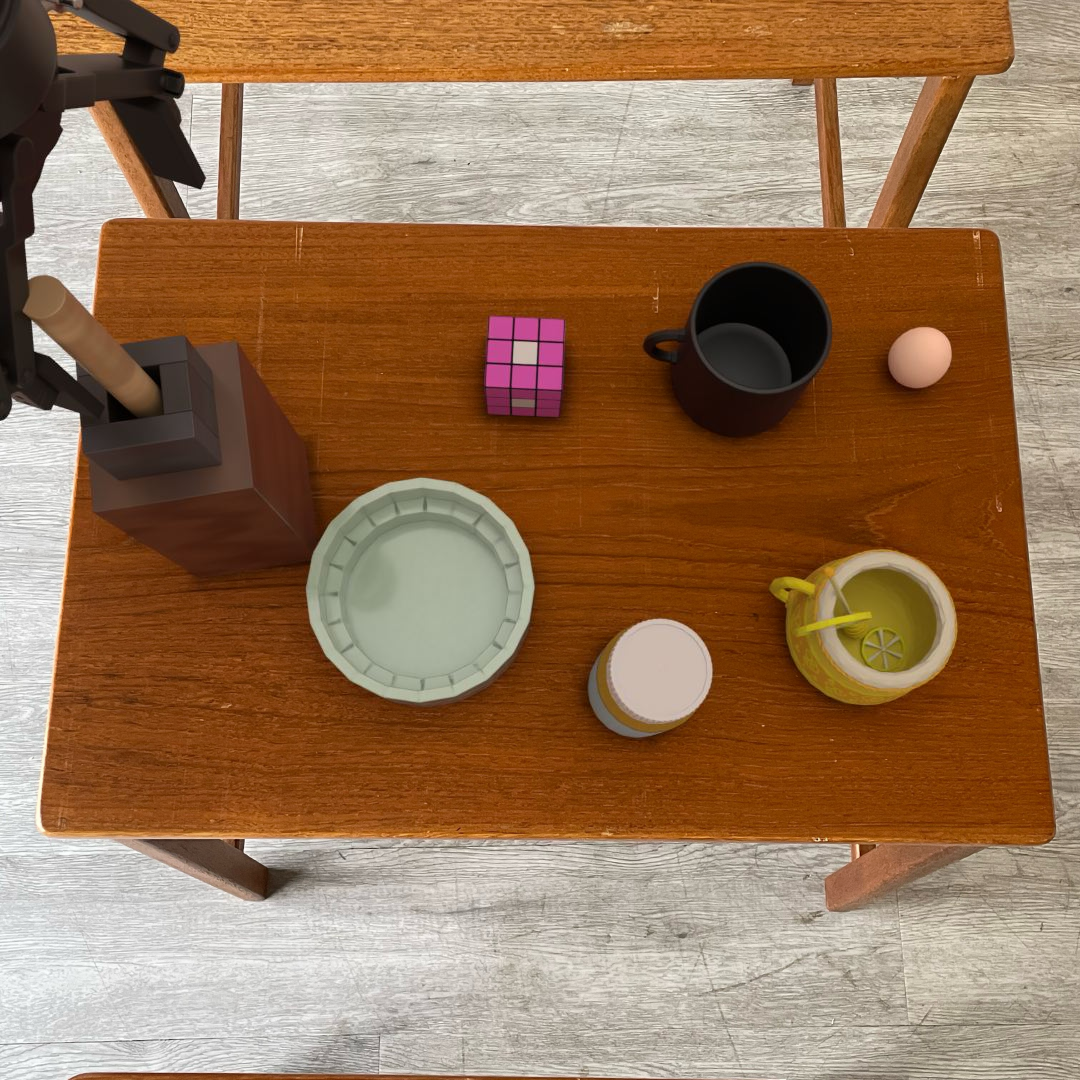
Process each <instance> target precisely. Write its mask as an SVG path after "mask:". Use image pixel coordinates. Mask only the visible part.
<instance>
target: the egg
mask: <svg viewBox="0 0 1080 1080" xmlns="http://www.w3.org/2000/svg"><path fill="white" fill-rule="evenodd" d="M952 355H953V354H952V347H951V342H950V340H949V339H948V337H947V336H946V335H945V334H944V333H943V332H941V331H940V330H938V329H936V328H935V327H928V326H926V327H925V326H920V327H919V326H918V327H915V328H911V329H909V330H907V331H905V332H903V333H902V334H901V335H900V336H899V337H898V338H897V339H896V340H894V342H893V344H892V345H891V347H890V349H889V351H888V356H887V364H888V369H889V372H890V374H891V376H892V378H893V379H894V380H896V382H897V383H899V384H900V385H901V386H904V387H907V388H912V389H920V388H921V389H922V388H927V387H929V386H931V385H934V384H935V383H937V382H938V381H939V380H941V379H942V378H943V376H944V375H946V373H947V371H948V369H949V367H950V366H951V362H952V357H953V356H952Z"/></svg>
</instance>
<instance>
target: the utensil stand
mask: <svg viewBox="0 0 1080 1080" xmlns="http://www.w3.org/2000/svg"><path fill="white" fill-rule="evenodd" d="M118 344H119V345H120V346H121V347H122V348H123V349H124V350H125V351H126V352H127V353H128V354H129V355H130V356H131V358H132V359H133V360H134V361H135V362H136V363H137V364H138V365H139V366H140V367H141V368H142V369H143V370H144V371H145V373H146V374H147V375H148V376H149V377H150V378H151V379H152V380H153V381H154V382H155V383H156V384H157V385H158V386H159V388H160V389H161V390H162V400H163V410H164V415H160V416H153V417H147V418H140V419H137V418H136V417H135V416H134V415H133V414H132V413H131V412H130V411H129V410H128V409H127V408H126V407H125V406H123V405H122V404H121V403H120V402H119V401H118V400H117V399H116V398H115V397H114V396H113V395H112V394H111V393H109V392H108V391H107V390H106V389H105V388H104V387H103V386H102V385H101V384H100V383H99V382H98V381H97V380H95V379H94V378H93V377H92V376H91V375H90V374H89V373H88V372H87V371H86V370H85V369H84V368H83V367H81V366H80V365H79V364H78V363H77V362H76V361H75V360H74V361H75V372H76V380H77V381H78V382H79V383H80V384H81V385H82V386H83V387H84V388H85V389H87V390H88V391H89V392H90V393H91V394H92V395H93V396H94V397H95V398H97V399H98V400H99V401H100V402H101V403H102V404H103V405H104V406H105V408H104V410H103V413H102V415H101V417H100V419H95V418H92V417H89V416H86V415H83V414H80V413H79V424H80V425H79V426H80V434H81V435H80V436H81V448H82V449H81V450H82V455H84V456H85V457H86V458H87V460H88V471H89V481H90V482H89V483H90V484H89V485H90V496H91V497H90V498H91V507H92V508H91V509H92V513H93V514H94V515H95V516H98V517H99V518H101V519H102V520H104V521H106V522H108V523H109V524H111V525H112V526H114V527H116V528H117V529H119V530H120V531H122V532H123V533H126V534H127V535H129V536H130V537H131V538H133V539H135V540H137V541H138V542H140V543H142V544H144V545H145V546H147V547H148V548H150V549H152V550H153V551H155V552H157V554H160V555H161V556H163V557H165V558H166V559H168V560H170V562H172V563H174V564H176V565H178V566H179V567H181V568H182V569H184V570H186V571H188V572H189V573H191V574H192V575H194V576H196V577H198V578H199V579H204V578H205V579H206V578H213V577H218V576H225V575H231V574H236V573H242V572H248V571H249V572H250V571H256V570H260V569H261V570H262V569H268V568H274V567H281V566H287V565H292V564H299V563H304V562H311V559H312V555H313V552H314V550H315V548H316V547H317V545H318V543H319V539H318V531H317V523H316V515H315V507H314V499H313V491H312V483H311V477H310V476H311V475H310V468H309V459H308V452H307V447H306V445H305V443H304V441H303V440H302V438H301V437H300V435H299V433H298V432H297V431H296V429H295V428H294V426H293V424H292V423H291V422H290V420H289V419H288V417H287V415H286V413H285V412H284V411H283V409H282V408H281V406H280V404H279V403H278V401H277V400H276V399H275V397H274V395H273V394H272V392H271V391H270V389H269V388H268V386H267V384H265V382H264V380H263V378H262V377H261V376H260V374H259V373H258V371H257V370H256V368H255V366H254V365H253V363H252V362H251V360H250V359H249V357H248V356H247V354H246V353H245V352H244V350H243V348H242V346H241V345H240V344H239V342H238V341H237V340H232V341H226V342H225V341H224V342H219V343H211V344H205V345H197V346H193V344H192V343H191V341H190V340H189V339H188V337H187V336H186V334H179V335H172V336H165V337H159V338H152V339H146V340H138V341H133V342H132V341H131V342H125V343H118Z"/></svg>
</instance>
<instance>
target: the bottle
mask: <svg viewBox="0 0 1080 1080" xmlns="http://www.w3.org/2000/svg"><path fill="white" fill-rule="evenodd" d="M713 670H714V669H713V662H712V657H711V655H710V652H709V650H708V647H707V646H706V644H705V642H704V641H703V640H702V638H701V636H699V635H698V634H697V632H695V631H694V629H692V628H690V627H689V626H687V625H685V624H684V623H682V622H679V621H677V620H673V619H667V618H652V619H647V620H643V621H641V622H637V623H636V624H632V625H630V626H628V627H626V628H624V629H622V630H621V631H619V632H617V633H616V634H615V635H614V636H613V637H612V638H611V639H610V640H609V641H608V642H607V643H606V645H605V646H604V648H603V649H602V651H601V652H600V654H599V655H598V657H597V658H596V659H595V662H594V664H593V665H592V668H591V669H590V673H589V676H588V683H587V693H588V700H589V704H590V706H591V708H592V710H593V713H594V715H595V716H596V718H597V719H598V720H599V721H600V722H601V724H603V725H604V726H605V727H606V728H607V729H608V730H610V731H612V732H614V733H616V734H618V735H619V736H624V737H628V738H637V739H638V738H645V737H646V738H647V737H652V736H655V735H658V734H661V733H662V734H663V733H665V732H668V731H671V730H673V729H675V728H677V727H679V726H681V725H683V724H684V723H685V722H687V721H688V720H689V719H690V718H691V717H692V716H693V714H695V713H696V711H697V710H698V709H699V707H700V705H701V704H703V703H704V700H705V699H706V698H707V695H708V694H709V690H710V689H711V684H712V682H713V680H712V679H713V677H714V676H713Z"/></svg>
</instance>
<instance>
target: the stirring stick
mask: <svg viewBox="0 0 1080 1080" xmlns="http://www.w3.org/2000/svg"><path fill="white" fill-rule="evenodd" d="M28 284H29V298H28V300H27V302H26V304H25V307H24V309H23V313H24V314H25V315H27V316H28V317H29V318H30V319H31V320H32V323H34V324H35V325H36V326H37V327H38V328H39V329H41V331H42V332H44V333H45V334H46V336H48V337H50V339H51V340H52V341H53V342H54V343H55V344H57V346H59V347H60V348H61V349H62V350H63V351H64V352H65V353H66V354H67V355H68V356H69V357H71V358H72V359H73V360H74V361H76V362H77V363H78V364H79V365H80V366H81V367H83V368H84V369H85V370H86V371H87V372H88V373H89V374H90V375H91V376H92V377H93V378H94V379H95V380H97V381H98V382H99V383H100V384H101V385H102V386H103V387H104V388H105V389H106V390H107V391H108V392H109V393H111V394H112V395H113V396H114V397H115V398H116V399H117V400H118V401H119V402H120V403H121V404H122V405H123V406H125V407H126V408H127V409H128V410H129V411H130V412H131V413H132V414H133V415H134V416H135V417H136V418H137V419H140V418H147V417H153V416H160V415H164V410H163V400H162V390H161V389H160V388H159V386H158V385H157V384H156V383H155V382H154V381H153V380H152V379H151V378H150V377H149V376H148V375H147V374H146V373H145V371H144V370H143V369H142V368H141V367H140V366H139V365H138V364H137V363H136V362H135V361H134V360H133V359H132V358H131V356H130V355H129V354H128V353H127V352H126V351H125V350H124V349H123V348H122V347H121V346H120V345H119V344H120V343H119V342H118V341H117V340H116V339H115V338H114V337H113V336H112V334H110V333H109V332H108V331H107V329H106V328H105V327H103V326H104V325H102V324H101V323H100V322H99V321H98V320H97V319H96V317H94V316H93V314H91V312H90V311H89V310H88V309H87V308H86V307H85V306H84V305H83V304H82V303H81V302H80V300H78V298H77V297H76V296H75V295H74V294H73V293H72V292H71V291H70V290H69V289H68V288H67V287H66V286H65V284H63V282H62V281H61V280H60V279H58V278H57V277H55V276H52V275H48V274H40V275H35V276H33V277H31V278H28ZM76 362H75V363H76Z"/></svg>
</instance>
